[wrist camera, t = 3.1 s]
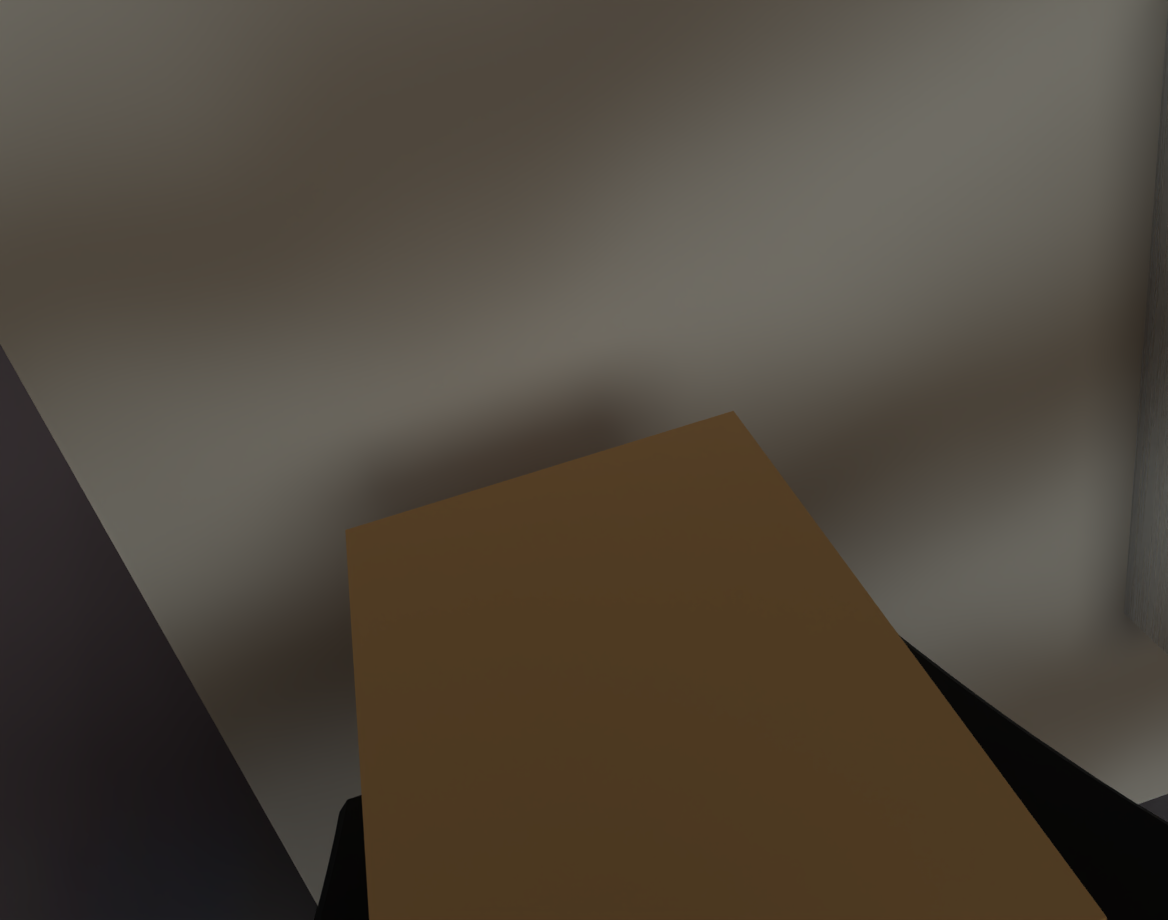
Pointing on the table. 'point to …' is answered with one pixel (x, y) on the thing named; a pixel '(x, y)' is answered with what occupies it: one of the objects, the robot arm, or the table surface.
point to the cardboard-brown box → (663, 712)
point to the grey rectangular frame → (1153, 424)
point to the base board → (593, 310)
